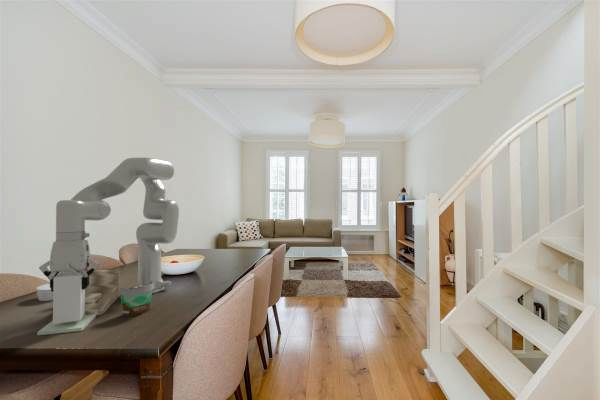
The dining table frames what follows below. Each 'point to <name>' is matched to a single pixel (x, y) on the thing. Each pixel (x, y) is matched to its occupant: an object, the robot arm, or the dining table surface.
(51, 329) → the sage board
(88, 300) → the offcut stack
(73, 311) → the milk carton
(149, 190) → the robot arm
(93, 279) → the birch rack
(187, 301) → the dining table surface
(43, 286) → the ramekin
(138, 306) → the food container
